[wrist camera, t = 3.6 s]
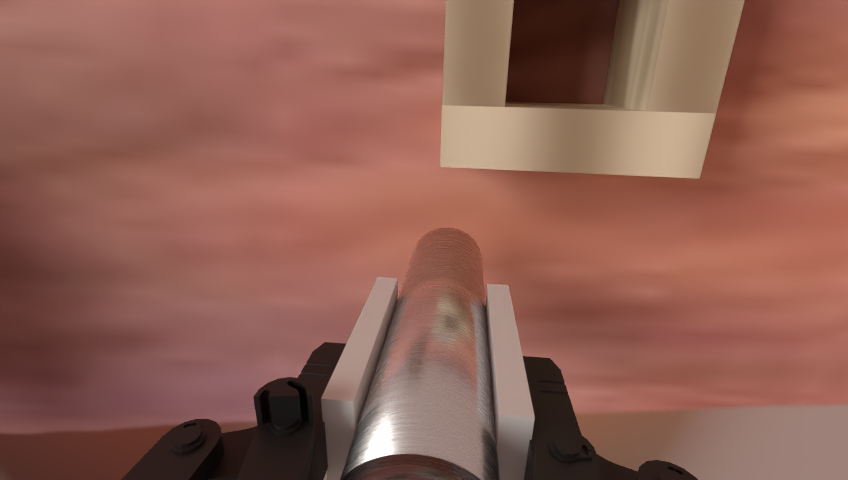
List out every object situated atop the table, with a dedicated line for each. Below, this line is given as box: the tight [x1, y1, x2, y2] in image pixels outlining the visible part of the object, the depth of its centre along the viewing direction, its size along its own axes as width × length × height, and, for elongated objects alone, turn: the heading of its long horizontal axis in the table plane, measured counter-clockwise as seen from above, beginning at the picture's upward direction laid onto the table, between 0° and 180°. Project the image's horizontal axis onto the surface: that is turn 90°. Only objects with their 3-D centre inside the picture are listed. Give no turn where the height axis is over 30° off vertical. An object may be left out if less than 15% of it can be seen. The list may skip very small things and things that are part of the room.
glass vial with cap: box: [340, 228, 500, 480], centre depth 14 cm, size 4×4×14 cm
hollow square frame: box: [440, 0, 745, 179], centre depth 18 cm, size 10×10×6 cm
